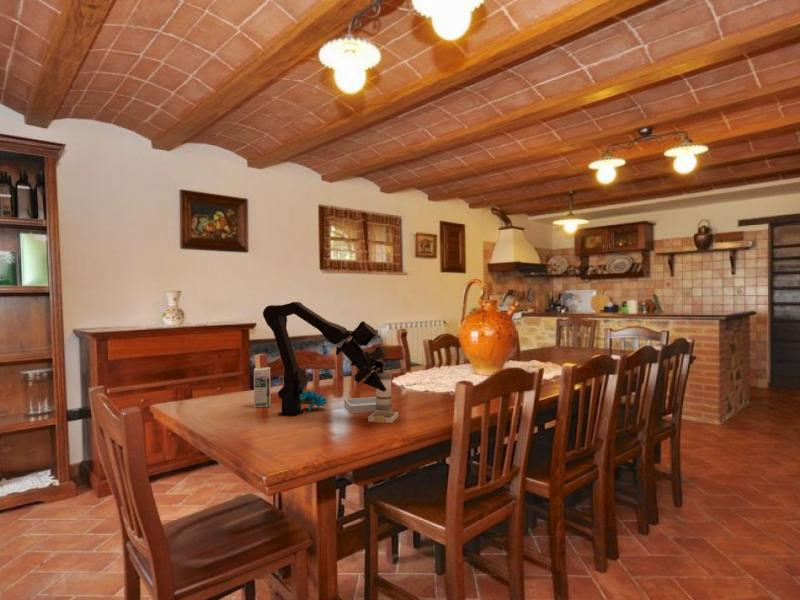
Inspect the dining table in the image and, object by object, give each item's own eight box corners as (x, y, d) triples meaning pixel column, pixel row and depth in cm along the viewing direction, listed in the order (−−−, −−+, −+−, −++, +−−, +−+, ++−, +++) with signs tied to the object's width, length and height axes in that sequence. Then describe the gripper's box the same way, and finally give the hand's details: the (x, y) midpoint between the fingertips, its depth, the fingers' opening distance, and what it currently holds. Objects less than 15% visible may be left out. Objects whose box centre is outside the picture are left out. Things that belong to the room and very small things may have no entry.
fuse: (386, 411, 155) (386, 374, 155) (372, 409, 157) (372, 373, 157) (394, 407, 159) (394, 372, 159) (381, 406, 162) (381, 371, 162)
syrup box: (253, 408, 175) (253, 369, 175) (255, 404, 181) (255, 367, 181) (269, 407, 176) (269, 368, 176) (270, 403, 182) (270, 366, 182)
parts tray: (350, 413, 166) (350, 406, 166) (344, 405, 178) (344, 399, 178) (384, 410, 170) (384, 403, 170) (376, 403, 182) (376, 397, 182)
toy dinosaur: (331, 403, 174) (320, 389, 168) (326, 418, 171) (315, 403, 164) (306, 403, 178) (294, 388, 172) (300, 417, 174) (288, 402, 168)
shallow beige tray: (367, 421, 154) (367, 415, 154) (376, 414, 164) (376, 409, 164) (391, 423, 152) (391, 417, 152) (399, 416, 162) (398, 410, 162)
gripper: (363, 341, 150) (397, 377, 147) (380, 337, 168) (410, 368, 166) (340, 365, 152) (373, 401, 149) (359, 358, 170) (388, 390, 167)
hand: (387, 389), depth 158 cm, fingers closed on fuse, 5 cm apart
